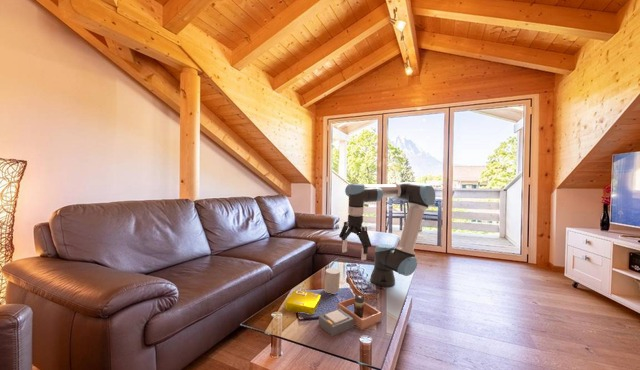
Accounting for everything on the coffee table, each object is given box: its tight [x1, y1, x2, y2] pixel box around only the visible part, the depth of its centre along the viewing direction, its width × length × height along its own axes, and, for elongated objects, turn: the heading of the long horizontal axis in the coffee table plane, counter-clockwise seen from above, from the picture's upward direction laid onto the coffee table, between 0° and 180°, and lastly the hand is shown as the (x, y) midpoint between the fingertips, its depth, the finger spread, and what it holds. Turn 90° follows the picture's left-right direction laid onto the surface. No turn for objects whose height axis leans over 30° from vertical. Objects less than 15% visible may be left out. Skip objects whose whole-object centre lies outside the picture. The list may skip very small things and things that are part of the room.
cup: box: [324, 267, 341, 293], centre depth 158 cm, size 8×8×12 cm
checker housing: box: [318, 309, 354, 337], centre depth 126 cm, size 12×10×5 cm
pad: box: [324, 309, 348, 325], centre depth 126 cm, size 7×7×3 cm
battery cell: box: [354, 295, 365, 318], centre depth 134 cm, size 4×4×10 cm
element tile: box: [284, 289, 322, 314], centre depth 142 cm, size 15×15×5 cm
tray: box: [336, 296, 382, 331], centre depth 134 cm, size 12×17×4 cm
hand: (353, 255), depth 142 cm, fingers open, 13 cm apart
